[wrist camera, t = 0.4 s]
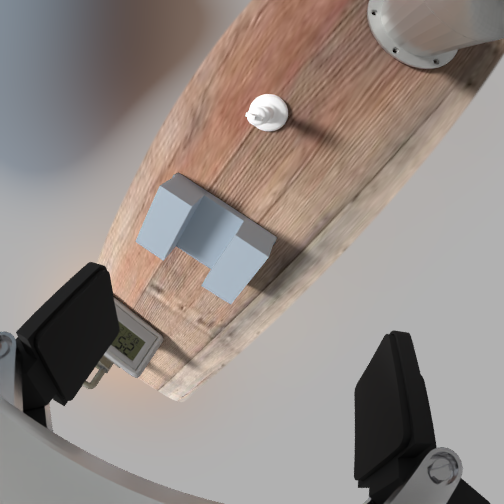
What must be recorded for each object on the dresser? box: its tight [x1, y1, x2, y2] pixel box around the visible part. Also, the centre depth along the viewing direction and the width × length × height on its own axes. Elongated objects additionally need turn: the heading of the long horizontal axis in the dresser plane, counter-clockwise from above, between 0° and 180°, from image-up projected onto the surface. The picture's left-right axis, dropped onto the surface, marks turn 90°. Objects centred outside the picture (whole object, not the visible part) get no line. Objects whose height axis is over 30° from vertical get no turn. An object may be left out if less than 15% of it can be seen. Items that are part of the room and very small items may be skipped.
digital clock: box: [103, 298, 163, 378], centre depth 55 cm, size 16×9×11 cm, turn 39°
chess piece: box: [245, 94, 288, 131], centre depth 31 cm, size 5×5×10 cm
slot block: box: [136, 173, 277, 304], centre depth 43 cm, size 10×17×6 cm, turn 58°
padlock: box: [83, 356, 114, 389], centre depth 59 cm, size 4×8×15 cm, turn 58°
